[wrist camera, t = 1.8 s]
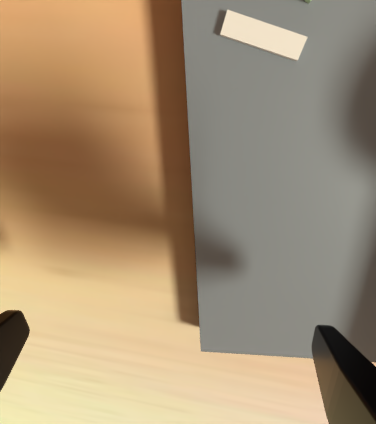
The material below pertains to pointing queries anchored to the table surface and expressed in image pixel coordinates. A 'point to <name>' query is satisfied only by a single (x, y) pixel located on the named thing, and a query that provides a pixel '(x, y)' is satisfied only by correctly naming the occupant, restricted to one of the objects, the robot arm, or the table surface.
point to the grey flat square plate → (282, 171)
